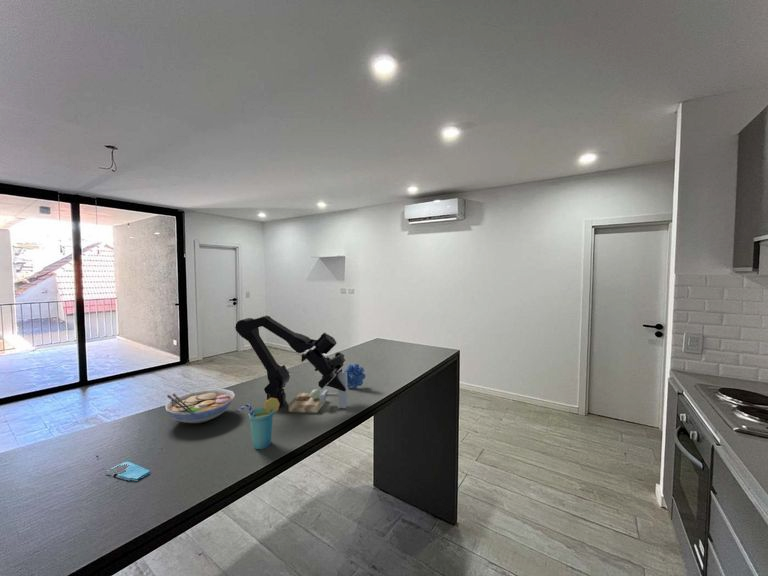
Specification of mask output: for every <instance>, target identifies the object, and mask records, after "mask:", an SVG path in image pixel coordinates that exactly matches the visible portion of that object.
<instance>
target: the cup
mask: <svg viewBox="0 0 768 576" xmlns="http://www.w3.org/2000/svg"><path fill="white" fill-rule="evenodd" d="M279 406H280V403H279V401H278V399H276V398H270V399H269V400H267V399H266V401H265V402H264V406H263V407H259V408H255V409H253V408H252V406H251V404H249V403H246V404H244V405H242V406H241V407H239V408H237V409H236V411H237V412H240V411H242V410H244V409H246V408H248V411H249V413H248V418H249V423H250V430H251V431H250V432H251V439H252V447H253V449H255V450H263V449H268V448H269V446H270V445H271V444H272V431H273V417H274V415H275V413H276V412H278V411H279V409H280V408H279Z"/></svg>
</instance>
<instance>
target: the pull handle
mask: <svg viewBox="0 0 768 576" xmlns="http://www.w3.org/2000/svg"><path fill="white" fill-rule="evenodd" d="M338 379H339V380H340V382H341V383H342V384H343V386H344V387H345V388H346V391H341V390H338V389H337V391H338V392H329V389H326V388H325V389H324V390H323V391H322V392H320V394H321V395H320V401H325V400H326V401H327V398H329V397H334V398H335V397H337V398H338V409H347V408H348V401H349V399H348V394H349V393H348V387H347V372H344V371H342V372H340V373H339V374H338ZM326 401H325V402H326Z"/></svg>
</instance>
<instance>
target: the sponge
mask: <svg viewBox="0 0 768 576" xmlns="http://www.w3.org/2000/svg"><path fill="white" fill-rule="evenodd" d="M124 464H125V465H126V464H127V466H128V465H129V466H128V467H127V468H126V469H125V470H126V472H124V473H122V474H118V476H120V477H123V478H126V479H135V480H138V479H140V478H141V477H143V476H145V475H147V476H149V475H150V474H151V473H150V472H151V470H150V469H147V468H145V467H142V466H140V465H137V464H136V463H134V462H132V461H129V460H128V461H127V460H126V461H124V462H122V463H119V464H116V465H114V466H113V467H112V468H110V469H113V468H115V467H117V466H119V465H121V466H122V465H124ZM107 471H109V469H108V470H107ZM149 473H150V474H149ZM113 474H114V473H113ZM148 474H149V475H148ZM140 480H141V479H140Z"/></svg>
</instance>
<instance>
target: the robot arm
mask: <svg viewBox="0 0 768 576" xmlns="http://www.w3.org/2000/svg"><path fill="white" fill-rule="evenodd" d="M262 327H263V328H265V329H266V330H268V331H269V332H271V333H273V334H274V335H275V336H278V337H279V338H281V339H282V340H284V341H285V342H286V343H287V344H288V345H289V347H290V348H292V350H294V351H295V352H296V353H298V354H301V355H300V357H301V359H300V360H301V362H302V363H304V362H305V361H306V360H307V361H308V362H309V363H310V364H311V365H312V366H313V367H314V371H315V372H317V371H318V372H319V374H321V375H322V376H321V379H320V380H319V381H318V387H319V388H320V390H323V388H325V387H330V388H333V389H337V391H338V390H341V391H346V388H345V387H344V386H343V384H342V383H341V382H340V380H339V379H338V374H339V373H340V372H343V368H342V367H343V366H344V365H345V364H344V362H346V359H345V354H343V353H341V352H340V351H338V352H336V353H335V355H334V357H332V358H330V357H328V356H327V357H326V356H325V355H327V354H328V353H329V352H331V350H332V349H333V348H334V347H335V346H336V345H337V340H336V339H335V338H334V337H333V336H331V335H330V334H328V333H327V332H323V333H322V334H321V335H320V336H319V338H318V339H312V338H310V337H309V336H307V335H304V334H302V333H297V332H295V331H292V330H291V329H289V328H288V327H286V326H284V325H283V324H281V323H280V322H278V321H277V320H275V319H273V318H272V317H271V316H269V315H263V316H260V317H257V318H252V317H246V318H243V319H239V320H238V321H237V322H236V324H235V327H234V328H235V331H236V332H237V333H238V334H239V336H240V337H241V338H242V339H244V340H246V341H247V342H248V343H249V345H250V347H251V349H252V350H253V351H254V353H255V354H256V356H257V357H258V359H259V361H260V363H261V364H262V366H263V367H264V369H265V370H266V376H267V380H268V383H267V385H266V386H265V387H263V390H264V392H265V394H266V401H267V400H269V399H270V398H276V399H278V401H279V403H280V406H279V409H280V408H282V406H284V405H285V404H286V402H287V400H286V392H285V387H286V384H287V383H288V382H290V378H291V376H290V371H288V370H287V367H286V365H285V364H283V365H279V364H278V363H277V361H276V359H275V358H274V356H273V354H272V353H271V352H270V350H269V349H268V347H267V345H266V344H265V342H264V340H263V339H262V337H261V336H260V329H259V328H262ZM312 348H313V349H312ZM304 352H305V353H304ZM324 354H325V355H324ZM347 388H349V387H348V385H347Z"/></svg>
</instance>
